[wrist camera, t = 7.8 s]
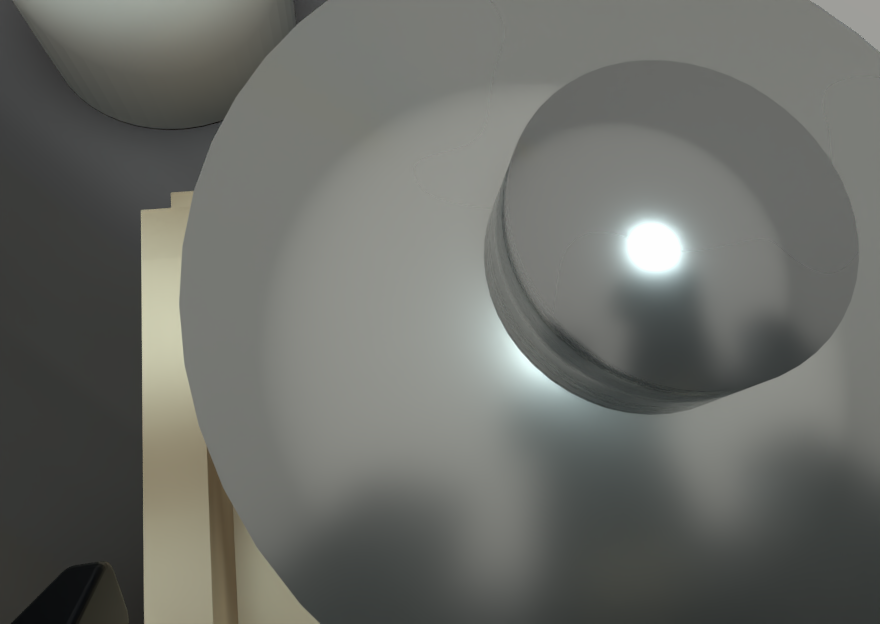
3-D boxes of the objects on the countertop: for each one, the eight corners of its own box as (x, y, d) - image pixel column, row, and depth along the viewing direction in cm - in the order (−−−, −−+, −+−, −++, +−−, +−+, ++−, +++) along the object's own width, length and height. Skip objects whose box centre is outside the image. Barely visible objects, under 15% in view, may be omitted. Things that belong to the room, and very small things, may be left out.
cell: (558, 509, 16) (1389, 412, 3) (388, 618, 15) (531, 1238, 2) (460, 345, 17) (756, -254, 4) (294, 435, 16) (-37, 3, 3)
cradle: (724, 801, 15) (810, 866, 12) (194, 924, 13) (147, 1034, 10) (577, 172, 19) (613, 111, 17) (176, 201, 18) (140, 138, 15)
